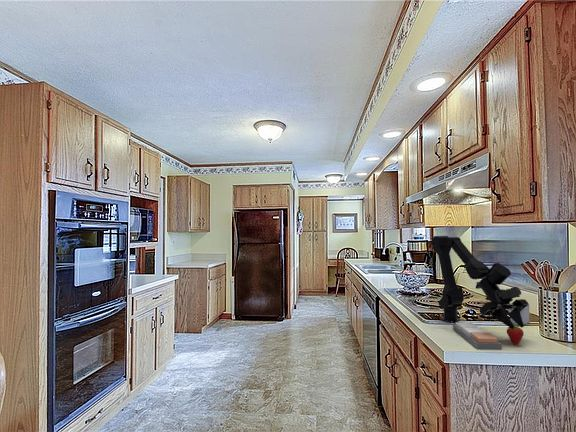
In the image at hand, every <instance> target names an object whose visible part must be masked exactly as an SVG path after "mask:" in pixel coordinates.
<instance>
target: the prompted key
mask: <svg viewBox="0 0 576 432" xmlns="http://www.w3.org/2000/svg"><path fill="white" fill-rule="evenodd" d="M471 338H473V339H474V340H475V341H476V342H478V343H497V341H498V338H497V337H495V336H494V335H493V334H490V332H489V333H488V332H487V333H471Z"/></svg>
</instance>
